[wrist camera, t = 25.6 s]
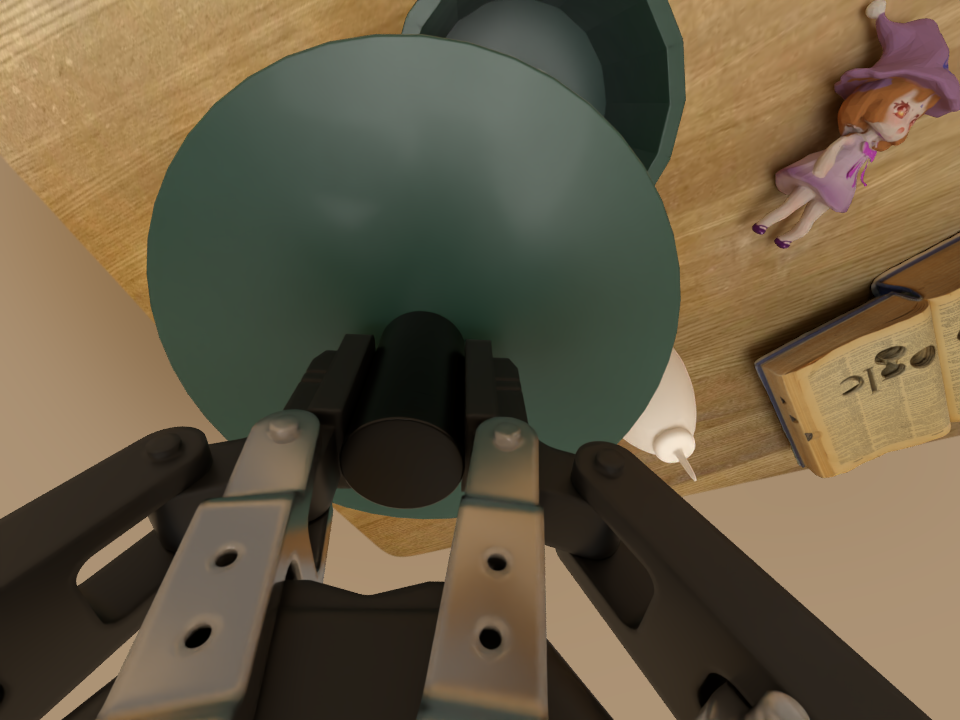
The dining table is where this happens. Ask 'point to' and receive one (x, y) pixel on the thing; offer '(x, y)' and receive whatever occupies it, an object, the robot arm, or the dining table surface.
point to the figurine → (869, 119)
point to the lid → (413, 255)
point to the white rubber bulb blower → (669, 418)
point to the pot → (584, 56)
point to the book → (874, 369)
